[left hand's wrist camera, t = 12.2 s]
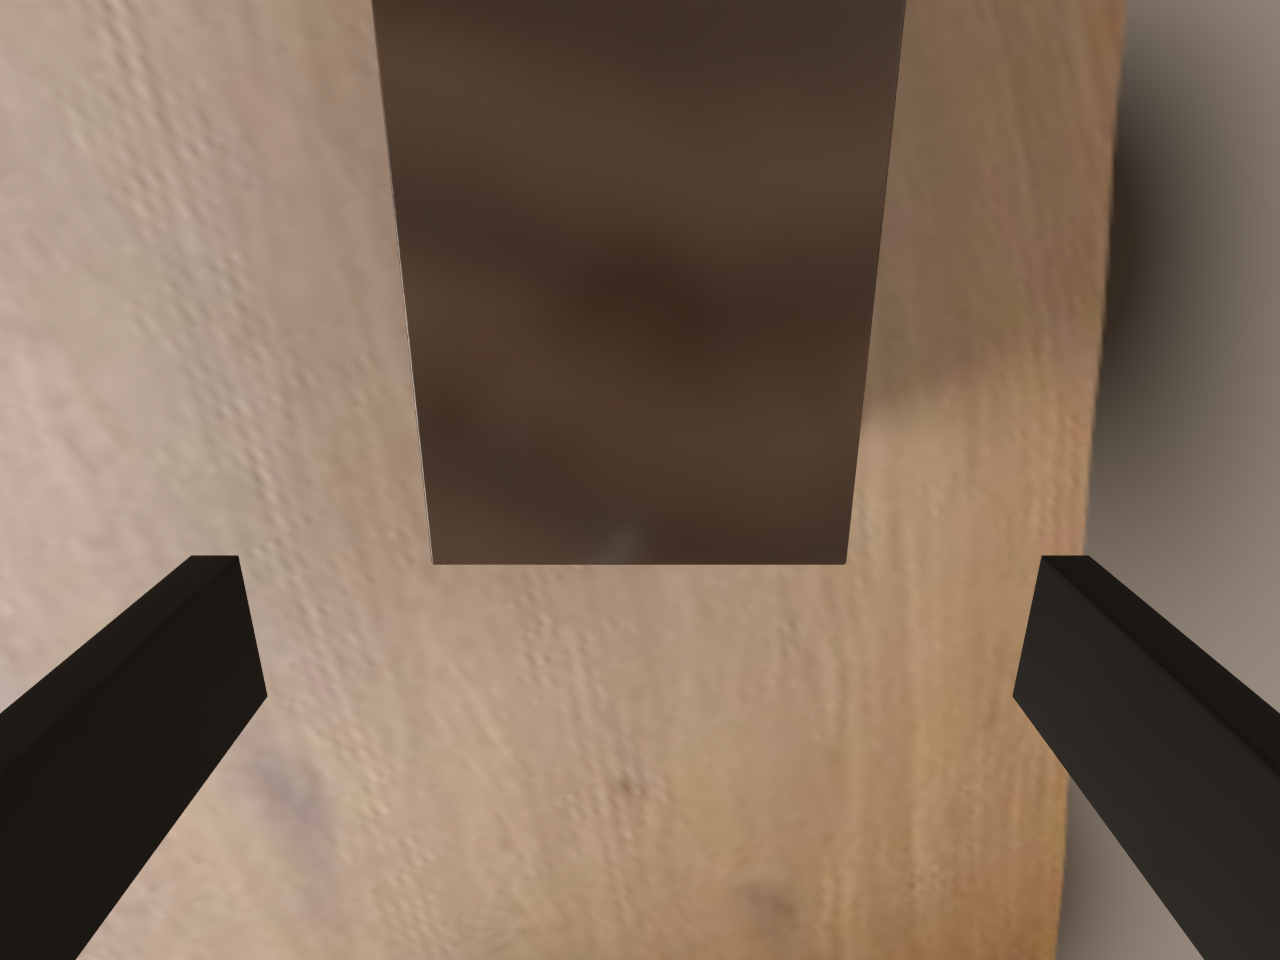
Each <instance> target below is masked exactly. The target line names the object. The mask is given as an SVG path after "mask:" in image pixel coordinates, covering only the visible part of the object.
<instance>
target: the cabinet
mask: <svg viewBox="0 0 1280 960" xmlns="http://www.w3.org/2000/svg"><path fill="white" fill-rule="evenodd" d="M371 2H372V11H373V20H374V30H375V39H376V48H377V58H378V67H379V76H380V86H381V95H382V104H383V114H384V123H385V132H386V141H387V151H388V160H389V169H390V179H391V188H392V197H393V207H394V216H395V225H396V234H397V244H398V253H399V262H400V272H401V281H402V290H403V300H404V309H405V318H406V328H407V337H408V346H409V355H410V365H411V374H412V383H413V393H414V402H415V411H416V421H417V430H418V439H419V448H420V458H421V467H422V476H423V486H424V495H425V504H426V514H427V523H428V532H429V542H430V551H431V560H432V564H530V565H844V564H846V559H847V549H848V540H849V530H850V521H851V512H852V502H853V493H854V484H855V474H856V465H857V455H858V446H859V437H860V427H861V418H862V409H863V399H864V390H865V381H866V371H867V362H868V352H869V343H870V334H871V324H872V315H873V306H874V296H875V287H876V278H877V268H878V259H879V249H880V240H881V231H882V221H883V212H884V203H885V193H886V184H887V174H888V165H889V156H890V146H891V137H892V128H893V118H894V109H895V100H896V90H897V81H898V71H899V62H900V53H901V43H902V34H903V25H904V15H905V6H906V0H371Z"/></svg>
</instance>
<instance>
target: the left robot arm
mask: <svg viewBox="0 0 1280 960" xmlns="http://www.w3.org/2000/svg"><path fill="white" fill-rule="evenodd" d="M266 698H267V691H266V687H265V682H264V677H263V672H262V667H261V663H260V658H259V653H258V648H257V643H256V638H255V634H254V629H253V624H252V619H251V614H250V610H249V605H248V600H247V595H246V590H245V586H244V581H243V576H242V571H241V566H240V562H239V557H238V556H190V557H189V558H188V559H187V560H185V561H184V562H183V563H182V564H181V565H179V566H178V567H177V568H176V569H175V570H173V571H172V572H171V573H170V574H168V575H167V576H166V577H165V578H164V579H162V580H161V581H160V582H159V583H158V584H156V585H155V586H154V587H153V588H152V589H150V590H149V591H148V592H147V593H145V594H144V595H143V596H142V597H141V598H139V599H138V600H137V601H136V602H135V603H133V604H132V605H131V606H130V607H129V608H127V609H126V610H125V611H124V612H122V613H121V614H120V615H119V616H118V617H116V618H115V619H114V620H113V621H112V622H110V623H109V624H108V625H107V626H106V627H104V628H103V629H102V630H101V631H100V632H98V633H97V634H96V635H95V636H93V637H92V638H91V639H90V640H89V641H87V642H86V643H85V644H84V645H83V646H81V647H80V648H79V649H78V650H77V651H75V652H74V653H73V654H72V655H70V656H69V657H68V658H67V659H66V660H64V661H63V662H62V663H61V664H60V665H58V666H57V667H56V668H55V669H54V670H52V671H51V672H50V673H49V674H48V675H46V676H45V677H44V678H43V679H41V680H40V681H39V682H38V683H37V684H35V685H34V686H33V687H32V688H31V689H29V690H28V691H27V692H26V693H25V694H23V695H22V696H21V697H20V698H18V699H17V700H16V701H15V702H14V703H12V704H11V705H10V706H9V707H8V708H6V709H5V710H4V711H3V712H2V713H0V960H76V958H77V957H78V956H79V954H80V953H81V952H82V950H83V949H84V947H85V946H86V945H87V943H88V942H89V941H90V939H91V938H92V936H93V935H94V934H95V932H96V931H97V930H98V928H99V927H100V926H101V924H102V923H103V921H104V920H105V919H106V917H107V916H108V915H109V913H110V912H111V910H112V909H113V908H114V906H115V905H116V904H117V902H118V901H119V899H120V898H121V897H122V895H123V894H124V893H125V891H126V890H127V888H128V887H129V886H130V884H131V883H132V882H133V880H134V879H135V877H136V876H137V875H138V873H139V872H140V871H141V869H142V868H143V866H144V865H145V864H146V862H147V861H148V860H149V858H150V857H151V855H152V854H153V853H154V851H155V850H156V849H157V847H158V846H159V844H160V843H161V842H162V840H163V839H164V838H165V836H166V835H167V833H168V832H169V831H170V829H171V828H172V827H173V825H174V824H175V823H176V821H177V820H178V818H179V817H180V816H181V814H182V813H183V812H184V810H185V809H186V807H187V806H188V805H189V803H190V802H191V801H192V799H193V798H194V796H195V795H196V794H197V792H198V791H199V790H200V788H201V787H202V785H203V784H204V783H205V781H206V780H207V779H208V777H209V776H210V774H211V773H212V772H213V770H214V769H215V768H216V766H217V765H218V763H219V762H220V761H221V759H222V758H223V757H224V755H225V754H226V752H227V751H228V750H229V748H230V747H231V746H232V744H233V743H234V741H235V740H236V739H237V737H238V736H239V735H240V733H241V732H242V731H243V729H244V728H245V726H246V725H247V724H248V722H249V721H250V720H251V718H252V717H253V715H254V714H255V713H256V711H257V710H258V709H259V707H260V706H261V704H262V703H263V702H264V700H265V699H266ZM1013 698H1014V699H1015V700H1016V702H1017V703H1018V704H1019V706H1020V707H1021V709H1022V710H1023V711H1024V713H1025V714H1026V715H1027V717H1028V718H1029V720H1030V721H1031V722H1032V724H1033V725H1034V726H1035V728H1036V729H1037V731H1038V732H1039V733H1040V735H1041V736H1042V737H1043V739H1044V740H1045V741H1046V743H1047V744H1048V746H1049V747H1050V748H1051V750H1052V751H1053V752H1054V754H1055V755H1056V757H1057V758H1058V759H1059V761H1060V762H1061V763H1062V765H1063V766H1064V768H1065V769H1066V770H1067V772H1068V773H1069V774H1070V776H1071V777H1072V778H1073V780H1074V781H1075V783H1076V784H1077V785H1078V787H1079V788H1080V789H1081V791H1082V792H1083V794H1084V795H1085V796H1086V798H1087V799H1088V800H1089V802H1090V803H1091V805H1092V806H1093V807H1094V809H1095V810H1096V812H1097V813H1098V814H1099V816H1100V817H1101V818H1102V820H1103V821H1104V823H1105V824H1106V825H1107V827H1108V828H1109V829H1110V831H1111V832H1112V833H1113V835H1114V836H1115V837H1116V839H1117V840H1118V842H1119V843H1120V844H1121V846H1122V847H1123V849H1124V850H1125V851H1126V853H1127V854H1128V855H1129V857H1130V858H1131V860H1132V861H1133V862H1134V864H1135V865H1136V866H1137V868H1138V869H1139V871H1140V872H1141V873H1142V875H1143V876H1144V877H1145V879H1146V880H1147V882H1148V883H1149V884H1150V886H1151V887H1152V888H1153V890H1154V891H1155V892H1156V894H1157V895H1158V897H1159V898H1160V899H1161V901H1162V902H1163V904H1164V905H1165V906H1166V908H1167V909H1168V910H1169V912H1170V913H1171V914H1172V916H1173V917H1174V919H1175V920H1176V921H1177V923H1178V924H1179V926H1180V927H1181V928H1182V930H1183V931H1184V932H1185V934H1186V935H1187V936H1188V938H1189V939H1190V941H1191V942H1192V943H1193V945H1194V946H1195V947H1196V949H1197V950H1198V952H1199V953H1200V954H1201V956H1202V957H1203V958H1204V960H1280V713H1278V712H1277V711H1276V710H1275V709H1274V708H1272V707H1271V706H1270V705H1269V704H1268V703H1266V702H1265V701H1264V700H1263V699H1261V698H1260V697H1259V696H1258V695H1257V694H1255V693H1254V692H1253V691H1252V690H1251V689H1249V688H1248V687H1247V686H1246V685H1245V684H1243V683H1242V682H1241V681H1240V680H1239V679H1237V678H1236V677H1235V676H1234V675H1232V674H1231V673H1230V672H1229V671H1228V670H1226V669H1225V668H1224V667H1223V666H1222V665H1220V664H1219V663H1218V662H1217V661H1216V660H1214V659H1213V658H1212V657H1211V656H1209V655H1208V654H1207V653H1206V652H1205V651H1203V650H1202V649H1201V648H1200V647H1198V646H1197V645H1196V644H1195V643H1194V642H1192V641H1191V640H1190V639H1189V638H1188V637H1187V636H1185V635H1184V634H1183V633H1182V632H1180V631H1179V630H1178V629H1177V628H1176V627H1174V626H1173V625H1172V624H1171V623H1170V622H1168V621H1167V620H1166V619H1165V618H1164V617H1162V616H1161V615H1160V614H1159V613H1158V612H1156V611H1155V610H1154V609H1153V608H1151V607H1150V606H1149V605H1148V604H1147V603H1145V602H1144V601H1143V600H1142V599H1141V598H1139V597H1138V596H1137V595H1136V594H1135V593H1133V592H1132V591H1131V590H1130V589H1128V588H1127V587H1126V586H1125V585H1124V584H1122V583H1121V582H1120V581H1119V580H1118V579H1116V578H1115V577H1114V576H1113V575H1112V574H1110V573H1109V572H1108V571H1107V570H1105V569H1104V568H1103V567H1102V566H1101V565H1099V564H1098V563H1097V562H1096V561H1095V560H1093V559H1092V558H1091V557H1090V556H1042V557H1041V562H1040V566H1039V571H1038V576H1037V581H1036V586H1035V590H1034V595H1033V600H1032V605H1031V610H1030V614H1029V619H1028V624H1027V629H1026V634H1025V638H1024V643H1023V648H1022V653H1021V658H1020V663H1019V667H1018V672H1017V677H1016V682H1015V687H1014V691H1013Z"/></svg>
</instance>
